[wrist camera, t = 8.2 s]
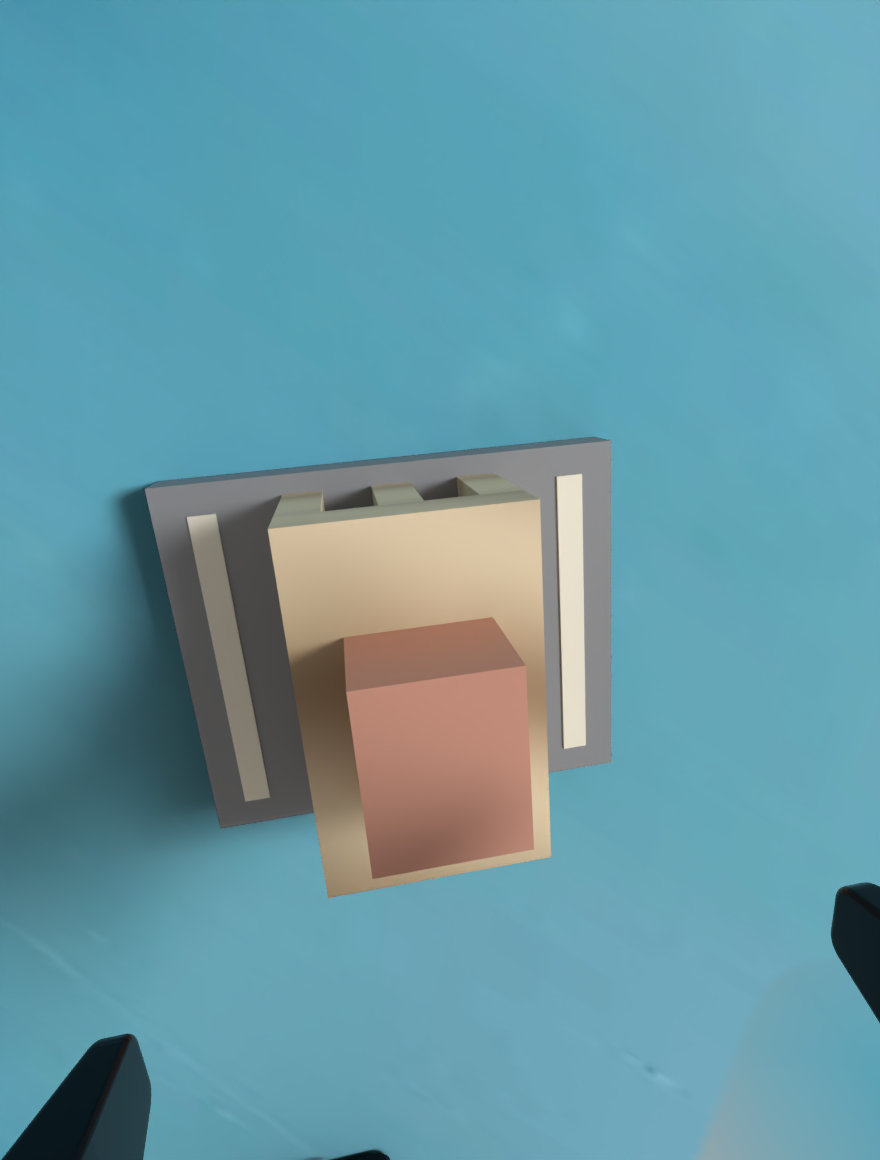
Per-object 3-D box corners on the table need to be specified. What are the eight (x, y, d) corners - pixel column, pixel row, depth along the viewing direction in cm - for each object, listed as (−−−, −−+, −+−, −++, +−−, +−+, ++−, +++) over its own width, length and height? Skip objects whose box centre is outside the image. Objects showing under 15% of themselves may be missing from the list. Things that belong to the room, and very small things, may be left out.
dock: (596, 742, 21) (611, 763, 20) (227, 802, 20) (220, 829, 19) (593, 436, 18) (611, 440, 17) (156, 481, 17) (143, 489, 16)
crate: (502, 776, 15) (534, 849, 13) (365, 799, 15) (372, 879, 12) (493, 617, 14) (525, 665, 12) (343, 637, 13) (346, 692, 11)
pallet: (509, 766, 20) (550, 856, 16) (328, 795, 19) (328, 897, 15) (494, 473, 17) (540, 499, 13) (282, 494, 16) (267, 529, 13)
